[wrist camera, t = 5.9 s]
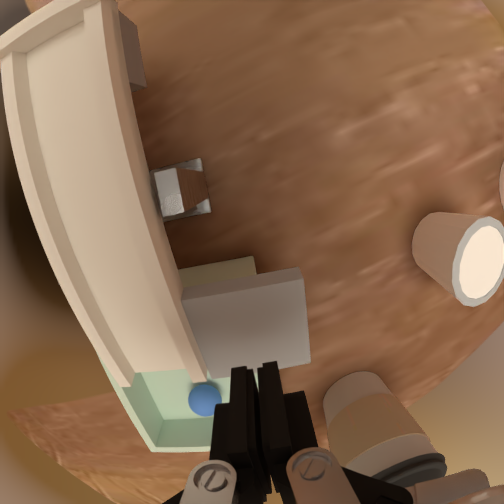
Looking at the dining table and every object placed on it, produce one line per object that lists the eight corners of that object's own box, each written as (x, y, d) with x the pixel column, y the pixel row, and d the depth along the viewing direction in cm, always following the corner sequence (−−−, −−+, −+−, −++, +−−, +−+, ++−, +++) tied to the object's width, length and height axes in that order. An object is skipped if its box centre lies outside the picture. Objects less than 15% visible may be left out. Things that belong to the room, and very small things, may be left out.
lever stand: (104, 184, 21) (32, 193, 12) (201, 159, 21) (171, 145, 12) (115, 232, 22) (49, 265, 13) (212, 210, 22) (189, 234, 13)
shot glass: (413, 290, 24) (455, 322, 18) (397, 220, 23) (446, 237, 16) (465, 261, 24) (511, 283, 17) (454, 195, 22) (506, 204, 15)
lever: (52, 55, 11) (-11, 44, 6) (243, -7, 11) (250, -61, 6) (142, 343, 21) (124, 406, 15) (298, 319, 20) (317, 385, 15)
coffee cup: (308, 430, 28) (334, 544, 14) (315, 368, 26) (361, 503, 11) (382, 417, 28) (430, 513, 14) (400, 356, 26) (476, 459, 12)
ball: (191, 386, 26) (181, 386, 23) (222, 382, 26) (215, 382, 23) (195, 416, 24) (186, 419, 22) (227, 413, 24) (220, 416, 22)
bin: (104, 283, 23) (77, 306, 19) (253, 255, 23) (255, 276, 18) (161, 418, 27) (151, 451, 22) (282, 406, 27) (287, 442, 22)
